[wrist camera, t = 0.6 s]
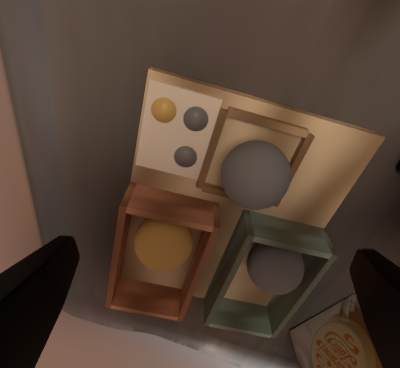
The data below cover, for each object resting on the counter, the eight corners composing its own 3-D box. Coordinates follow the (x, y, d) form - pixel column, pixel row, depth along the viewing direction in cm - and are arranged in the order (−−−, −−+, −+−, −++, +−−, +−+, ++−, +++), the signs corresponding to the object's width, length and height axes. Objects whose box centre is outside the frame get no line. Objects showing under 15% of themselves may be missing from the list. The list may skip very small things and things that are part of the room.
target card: (222, 98, 17) (222, 100, 17) (197, 178, 20) (197, 180, 20) (150, 78, 17) (149, 79, 16) (136, 162, 20) (134, 165, 19)
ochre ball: (200, 207, 22) (198, 248, 18) (187, 246, 24) (182, 289, 20) (145, 194, 21) (132, 233, 18) (137, 235, 24) (123, 277, 20)
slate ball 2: (304, 232, 23) (323, 275, 19) (282, 267, 25) (295, 311, 21) (255, 220, 22) (264, 262, 19) (236, 257, 25) (241, 301, 21)
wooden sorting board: (377, 132, 19) (414, 157, 16) (266, 302, 29) (274, 340, 26) (151, 66, 17) (137, 78, 14) (117, 272, 28) (104, 308, 24)
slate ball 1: (293, 139, 18) (314, 171, 15) (267, 191, 21) (280, 230, 17) (231, 122, 18) (236, 150, 14) (211, 177, 20) (212, 215, 17)
